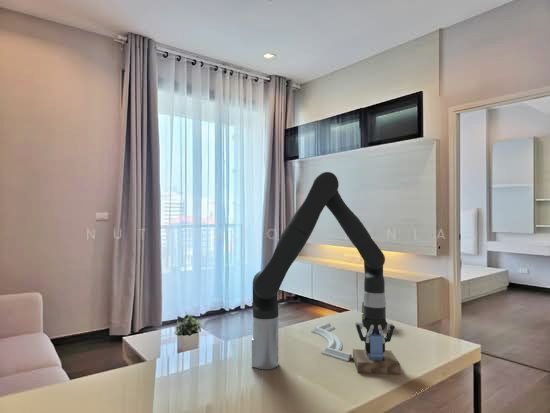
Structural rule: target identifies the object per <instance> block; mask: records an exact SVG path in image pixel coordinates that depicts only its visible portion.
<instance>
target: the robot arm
mask: <svg viewBox="0 0 550 413" xmlns="http://www.w3.org/2000/svg"><path fill="white" fill-rule="evenodd" d="M339 185H340V184H339V180H338V177H337V175H336V174H334V173H333V172H330V171H323V172H321V173H319V174H318V175H317V176H315V178H314V180H313V183H312V185H311V187H310V189H309V191H308V193H307V196H306V197H305V199H304V201H302V202H303V203H302V204H301V205H300V206H299V208H298V209H297V210H296V211H295V213H294V214H293V215H292V217H291V219H290V220H289V221H288V223H287V225H286V226H285V228H284V229H283V231H282V233H281V234H280V236H279V239H278V242H277V244H276V246H275V249H274V251H273V253H272V256H271V258H270V260H269V261H268V263H267V264H266V266H264V268H263V270H260V271H258V272H257V273H256V274H254V276H253V280H252V338H251V367H252V368H256V369H259V370H272V369H275V368H277V367H278V366H279V302H278V301H279V299H278V293H279V290H280V289H281V287H282V284H283V281H284V279H285V278H286V275H287V273H288V271H289V269H290V267H291V266H292V264H293V263H294V262H295V260H296V259H297V257H298V256H299V254H300V253H301V251H302V250H303V248H304V247H305V245H306V244H307V242H308V240H309V239H310V237H311V235H312V233H313V232H314V229H315V227H316V225H317V222H318V221H319V218H320V215H321V214H322V212H323V210H324V208H325V207H326V208H327V209H328V210H329V211H330V212H331V214H332V215H333V216H334V218H335V219H336V221H337V222H338V224H339V226H340V228H341V229H342V230H343V231H344V233H345V235H346V236H347V238H348V240H349V241H350V242H351V243H352V245H353V246H354V247H355V248H356V250H357V252H358V254H359V255H360V257H361V259H362V260H363V268H364V270H363V271H364V282H363V283H364V284H363V286H364V287H363V289H364V290H363V291H364V292H363V302H364V319H363V321H362V320H361V322H355V324H354V325H355V328H356V331H357V334H358V337H359V339H360V341H361V342H364V350H366V352H367V353H368V354H370V343H369V341H370V335H372V334H374V333H376V334H380V335H382V338H383V352H385V350H386V344H387V343H388V342H389V343H390V342H391V340H392V337H393V335H394V331H395V325H394V324H393V323H389V322H387V320H386V318H387V317H386V314H387V313H386V312H387V311H386V309H387V308H386V305H387V300H386V294H385V287H386V286H385V278H384V264H385V261H386V256H385V254H384V253H383V251H382V250H381V248H380V247H379V246H378V245H377V243H376V242H375V241H374V239H372V237H371V234H370V233H369V231H368V230H367V228H366V226H364V223H363V222H362V221H361V220H360V218H359V217H358V216H357V215H356V214H355V213H354V211H352V210H351V209H350V207H349V206H348V205H347V204H346V203H345V201H344V199H343V198H342V196H341V194H340V193H339ZM363 325H364V326H365V327H364V329H366V331H365V336H364V335H363V331H362V329H363ZM385 327H386V328H385ZM385 329H387V332H386V335H385V334H384V330H385Z"/></svg>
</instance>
